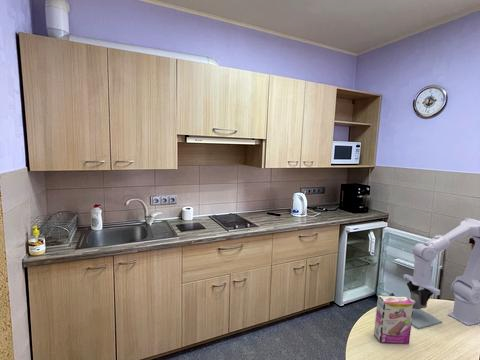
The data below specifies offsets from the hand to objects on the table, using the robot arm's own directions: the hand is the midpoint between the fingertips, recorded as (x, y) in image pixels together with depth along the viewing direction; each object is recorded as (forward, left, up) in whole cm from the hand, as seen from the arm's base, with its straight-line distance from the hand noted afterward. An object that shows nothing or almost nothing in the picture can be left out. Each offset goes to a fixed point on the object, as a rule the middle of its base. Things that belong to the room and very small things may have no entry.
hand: (418, 302), depth 109 cm
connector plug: (+1, 0, -2) cm, 2 cm away
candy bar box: (+23, +7, -8) cm, 25 cm away
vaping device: (+14, -3, -8) cm, 16 cm away
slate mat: (0, 0, -7) cm, 7 cm away
